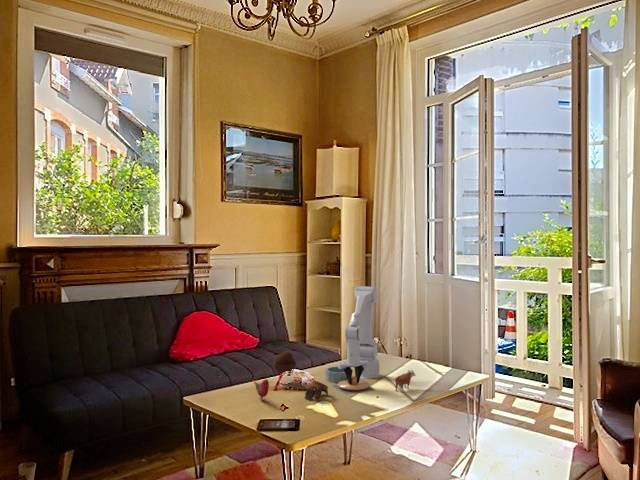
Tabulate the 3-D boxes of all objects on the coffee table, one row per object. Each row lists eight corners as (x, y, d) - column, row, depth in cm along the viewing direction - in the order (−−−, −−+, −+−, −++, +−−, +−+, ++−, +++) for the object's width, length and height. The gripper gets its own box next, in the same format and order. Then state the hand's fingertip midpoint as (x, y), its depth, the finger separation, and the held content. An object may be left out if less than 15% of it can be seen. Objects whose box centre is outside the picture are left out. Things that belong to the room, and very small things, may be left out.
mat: (360, 382, 258) (360, 381, 258) (376, 390, 245) (376, 390, 245) (331, 386, 252) (331, 385, 252) (346, 395, 238) (346, 394, 238)
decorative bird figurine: (265, 405, 224) (265, 381, 224) (249, 394, 240) (249, 371, 239) (271, 404, 225) (271, 380, 225) (256, 393, 241) (256, 370, 241)
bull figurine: (417, 387, 250) (417, 369, 250) (400, 394, 240) (400, 375, 240) (409, 385, 253) (409, 367, 253) (391, 392, 243) (391, 373, 243)
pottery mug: (301, 396, 238) (308, 378, 240) (320, 406, 239) (328, 387, 241) (306, 397, 226) (314, 378, 229) (327, 407, 227) (334, 388, 230)
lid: (359, 381, 258) (359, 371, 257) (374, 389, 245) (374, 379, 245) (332, 385, 252) (332, 374, 252) (346, 393, 239) (346, 382, 239)
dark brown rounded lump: (297, 380, 262) (297, 348, 262) (294, 386, 251) (294, 353, 251) (275, 379, 263) (275, 348, 263) (271, 386, 252) (271, 353, 252)
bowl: (344, 375, 270) (344, 365, 270) (355, 381, 259) (355, 371, 259) (321, 378, 265) (321, 368, 265) (332, 384, 254) (332, 374, 254)
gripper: (343, 356, 241) (343, 387, 242) (372, 353, 247) (371, 383, 248) (335, 353, 248) (335, 383, 248) (364, 350, 254) (364, 379, 254)
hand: (353, 383), depth 248 cm, fingers closed on lid, 3 cm apart
